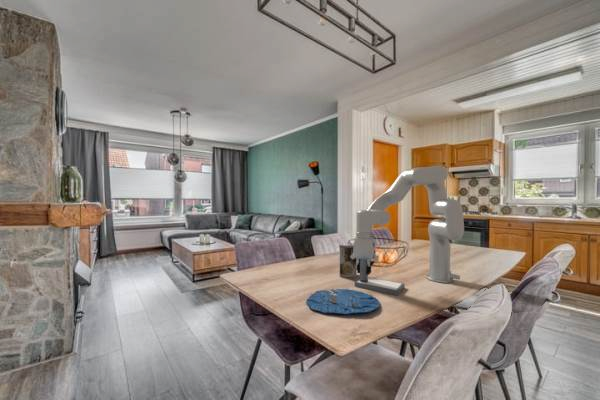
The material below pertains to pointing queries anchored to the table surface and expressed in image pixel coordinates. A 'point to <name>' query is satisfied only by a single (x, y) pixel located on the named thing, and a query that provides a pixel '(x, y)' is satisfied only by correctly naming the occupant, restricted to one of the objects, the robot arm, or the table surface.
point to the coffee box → (346, 262)
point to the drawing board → (381, 286)
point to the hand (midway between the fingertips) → (363, 272)
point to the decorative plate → (342, 301)
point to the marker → (363, 270)
